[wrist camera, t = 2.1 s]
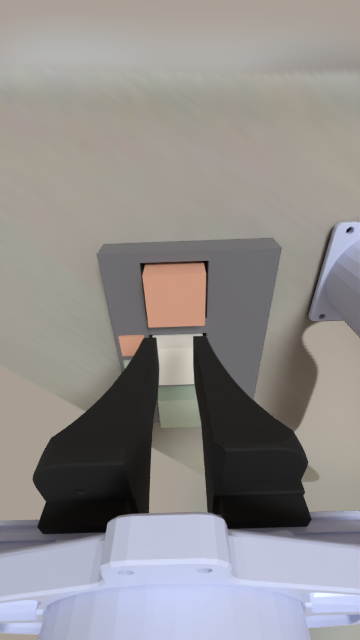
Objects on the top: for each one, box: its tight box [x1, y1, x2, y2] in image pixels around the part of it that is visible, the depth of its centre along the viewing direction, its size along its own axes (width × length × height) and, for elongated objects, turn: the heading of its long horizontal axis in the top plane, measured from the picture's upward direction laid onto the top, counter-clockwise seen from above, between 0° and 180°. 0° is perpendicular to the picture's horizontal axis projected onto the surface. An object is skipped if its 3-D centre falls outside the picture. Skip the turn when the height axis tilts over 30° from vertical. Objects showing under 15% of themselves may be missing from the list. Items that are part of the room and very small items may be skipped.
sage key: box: [158, 385, 201, 428], centre depth 26 cm, size 4×4×2 cm
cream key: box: [153, 333, 203, 385], centre depth 22 cm, size 4×4×2 cm
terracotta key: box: [142, 261, 206, 328], centre depth 19 cm, size 4×4×2 cm
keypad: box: [97, 238, 282, 422], centre depth 23 cm, size 12×18×2 cm, turn 2°
